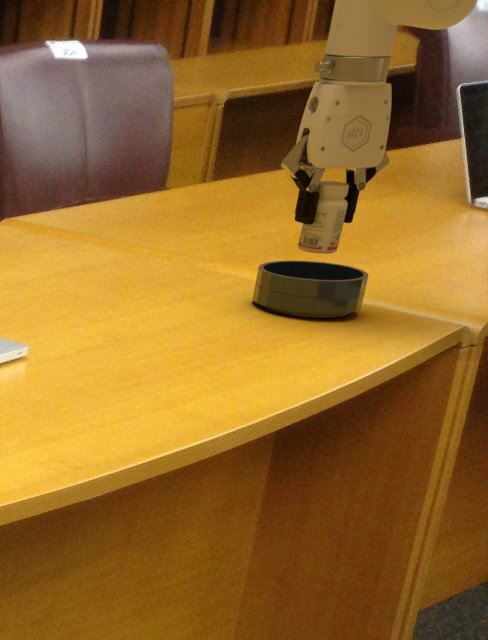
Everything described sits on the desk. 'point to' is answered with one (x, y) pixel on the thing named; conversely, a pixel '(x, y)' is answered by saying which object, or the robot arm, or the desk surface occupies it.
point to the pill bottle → (326, 219)
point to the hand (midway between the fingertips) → (323, 220)
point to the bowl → (310, 288)
